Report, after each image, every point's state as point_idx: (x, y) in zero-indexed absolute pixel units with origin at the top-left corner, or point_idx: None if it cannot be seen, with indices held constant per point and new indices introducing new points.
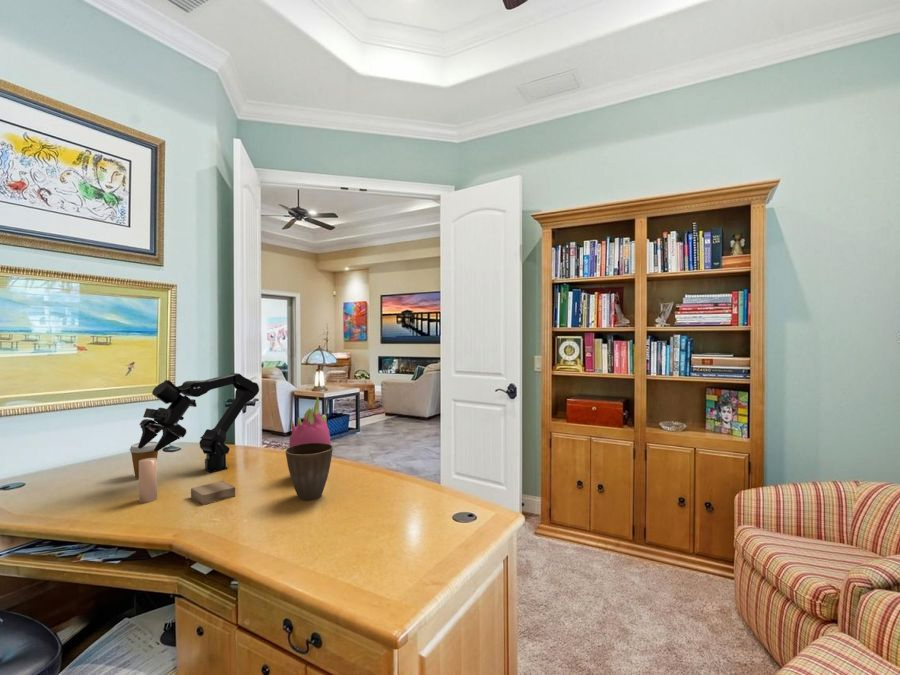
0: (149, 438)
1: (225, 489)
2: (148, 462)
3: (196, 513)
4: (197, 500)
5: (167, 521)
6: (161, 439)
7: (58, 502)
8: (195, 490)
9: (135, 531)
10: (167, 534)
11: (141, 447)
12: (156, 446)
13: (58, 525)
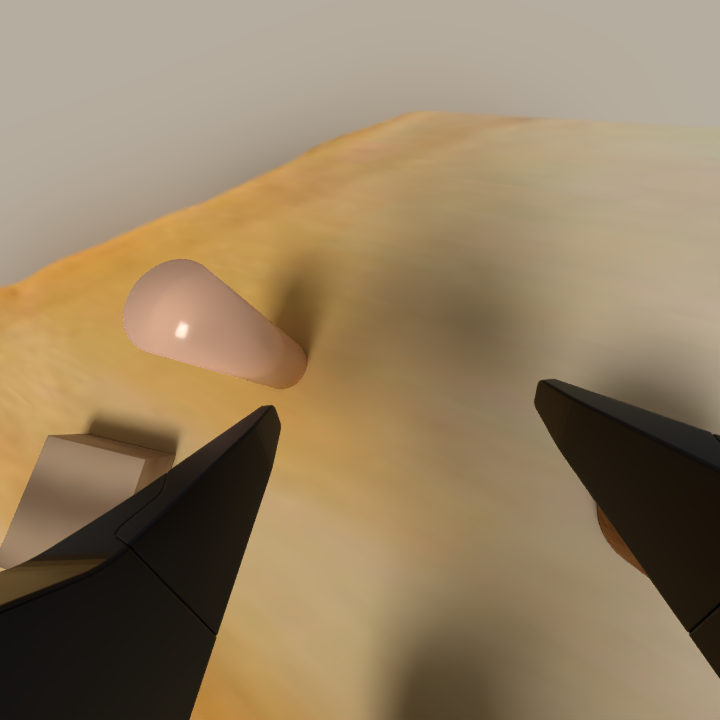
0: (670, 558)
1: (12, 523)
2: (136, 293)
3: (58, 385)
4: (121, 443)
5: (87, 318)
6: (150, 489)
7: (511, 205)
8: (108, 452)
9: (109, 255)
10: (32, 286)
11: (540, 412)
12: (241, 424)
13: (302, 171)
